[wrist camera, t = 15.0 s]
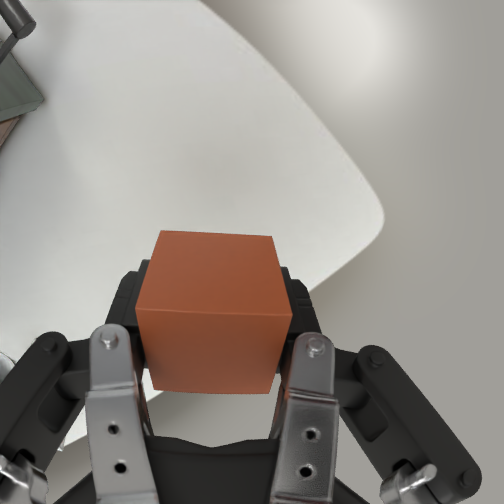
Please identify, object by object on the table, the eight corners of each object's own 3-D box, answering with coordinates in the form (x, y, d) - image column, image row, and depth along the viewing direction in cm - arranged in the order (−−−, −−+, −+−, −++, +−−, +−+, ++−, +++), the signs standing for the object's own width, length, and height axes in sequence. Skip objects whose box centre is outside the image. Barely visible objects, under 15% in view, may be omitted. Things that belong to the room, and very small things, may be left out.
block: (160, 229, 11) (134, 308, 7) (272, 235, 11) (293, 314, 8) (166, 311, 13) (153, 390, 10) (258, 315, 14) (269, 393, 10)
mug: (-17, 423, 27) (-23, 402, 22) (-19, 376, 32) (-22, 347, 28) (41, 431, 35) (48, 414, 31) (36, 386, 41) (43, 360, 36)
